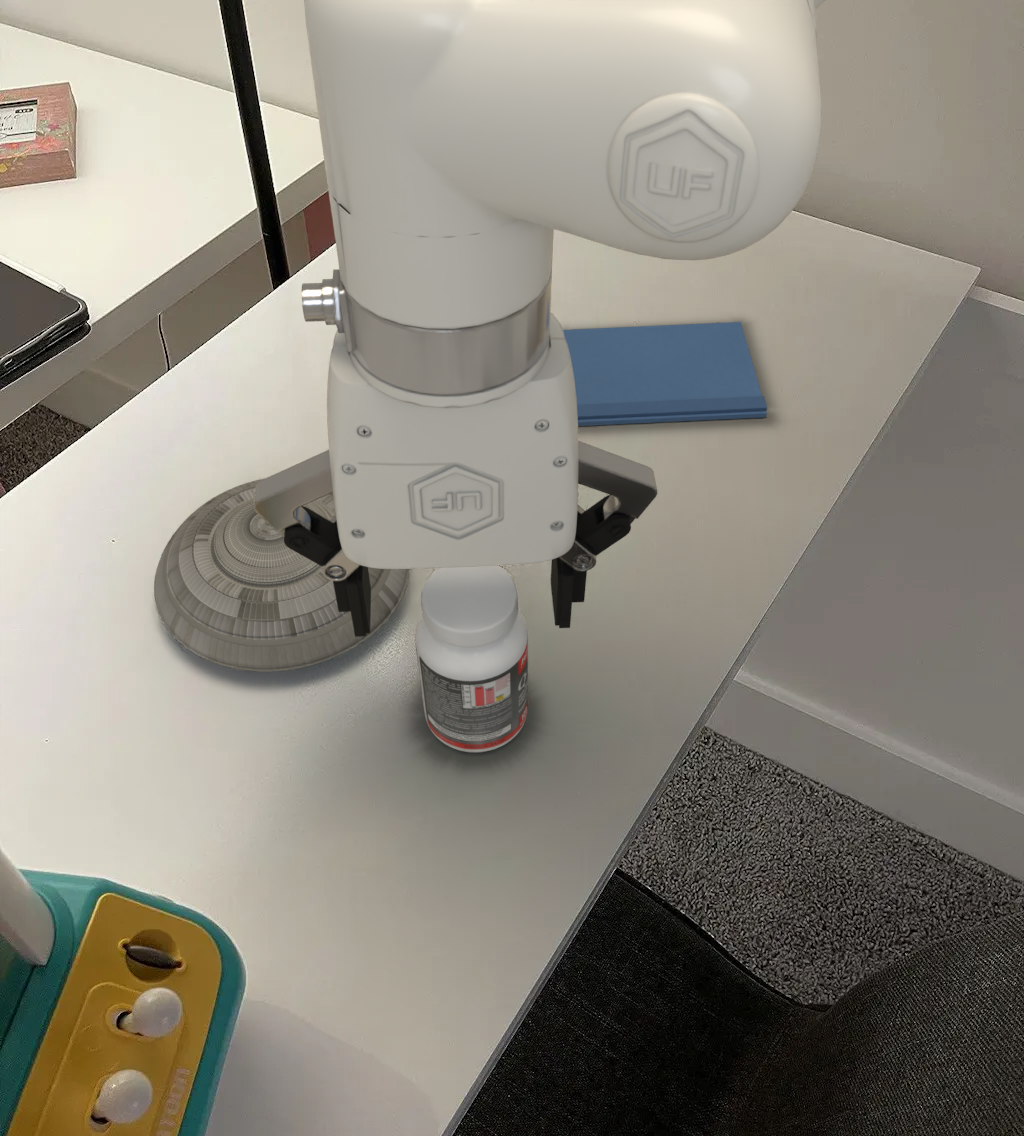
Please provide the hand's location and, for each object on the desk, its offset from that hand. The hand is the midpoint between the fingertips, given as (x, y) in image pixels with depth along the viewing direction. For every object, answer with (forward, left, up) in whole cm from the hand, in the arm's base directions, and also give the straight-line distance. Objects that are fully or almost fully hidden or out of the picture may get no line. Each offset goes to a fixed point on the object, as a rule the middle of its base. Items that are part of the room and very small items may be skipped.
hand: (462, 609), depth 55 cm
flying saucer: (+11, -10, -9) cm, 17 cm away
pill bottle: (0, 0, -9) cm, 9 cm away
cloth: (-14, -28, -9) cm, 33 cm away
